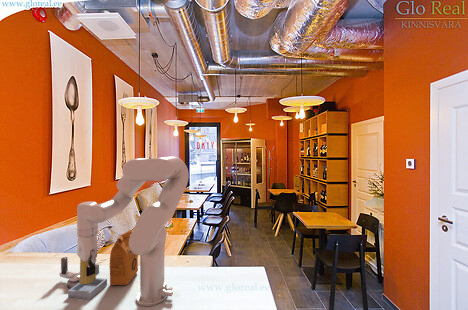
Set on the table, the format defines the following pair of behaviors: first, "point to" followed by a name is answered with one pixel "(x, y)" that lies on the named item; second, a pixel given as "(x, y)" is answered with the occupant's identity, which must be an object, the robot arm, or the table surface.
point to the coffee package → (122, 261)
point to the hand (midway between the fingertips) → (87, 271)
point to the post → (97, 268)
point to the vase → (83, 277)
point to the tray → (87, 289)
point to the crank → (69, 275)
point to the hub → (71, 284)
